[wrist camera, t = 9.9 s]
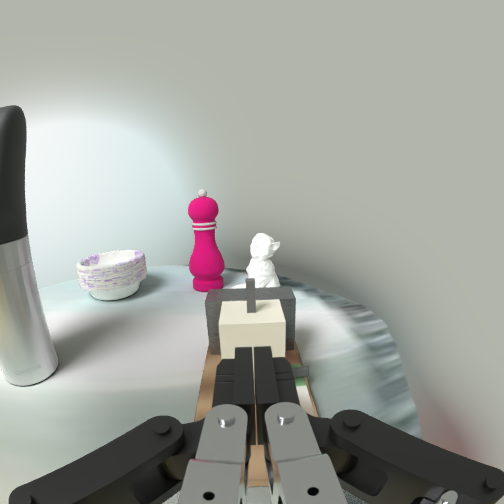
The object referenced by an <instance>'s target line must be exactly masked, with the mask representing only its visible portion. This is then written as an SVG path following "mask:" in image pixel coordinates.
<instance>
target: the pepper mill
mask: <svg viewBox="0 0 504 504" xmlns="http://www.w3.org/2000/svg"><path fill="white" fill-rule="evenodd" d="M206 195H207V192H206V190H204V189H200V190H199V191H198V196H199V198H196V199H194V200H193V201H191V203H190V204H189V207H188V214H189V216H190V218H191V219H192V220H193V222H192V223H191V224H192V230H194V234H195V246H194V250H193V253H192V255H191V258H190V263H189V270H190V272H191V273H192V275H193V276H195V278H194V279H193V287H194V289H195V290H197V291H202V292H208V291H209V289H221V288H222V287H223V277H222V276H220V275H221V273H222V272H223V270H224V267H225V266H224V260H223V258H222V255H221V253H220V251H219V250H218V247H217V245H216V242H215V228H217V226H216V223H217V222H216V221H214V220H215V217H216V216H217V215H218V205H217V203H216V201H215V200H213V199H212V198H209V197H206Z"/></svg>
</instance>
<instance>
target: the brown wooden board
mask: <svg viewBox="0 0 504 504" xmlns="http://www.w3.org/2000/svg"><path fill="white" fill-rule="evenodd" d="M285 359H286V360H287V361H288V362H289V363H290V364H291V368H295V367H303V365H302V361H301V358H300V355H299V352H298V348H297V345H296V342H295V339H294V350H289V351H285ZM221 360H222V357H221V355H211V354H210V345H209V346H208V351H207V356H206V361H205V366H204V371H203V376H202V381H201V387H200V392H199V397H198V402H197V408H196V413H195V418H194V422H196V421H199V420H201V419H203V418H205V417H206V414H207V412H208V411H209V410H210V409H211V408H212V401H213V393H214V384H215V376H216V368H217V365H218V364H219V363H220V361H221ZM294 380H295V385H296V389H297V393H298V397H299V401H300V405H301V407H302V408H303V409H304V410H305V412H307V413H308V414H310V415H312V416H315V417H318V414H317V411H316V408H315V404H314V401H313V398H312V394H311V391H310V388H309V384H308V381H307V378H306V376H300V377H294ZM255 418H256V404H255ZM249 461H250V464H249V477H248V487H258V486H269V485H268V480H267V475H266V469H265V464H264V445H258V440H257V422H256V445H251V457H250V460H249Z"/></svg>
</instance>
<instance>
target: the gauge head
mask: <svg viewBox="0 0 504 504" xmlns="http://www.w3.org/2000/svg"><path fill="white" fill-rule="evenodd" d="M218 326H219V337H220V347H221V357H222V359H235V347H252V353H253V372H254V347H256V346H271V350H272V356H273V357H285V337H286V321H285V318H284V314H283V311H282V307H281V304H280V300H279V299H273V300H256V297H255V278H247V279H246V301H222V306H221V312H220V318H219V324H218ZM292 373H293V376H294V377H300V376H309V368H308V366H306V367H295V368H292ZM254 390H255V386H254Z"/></svg>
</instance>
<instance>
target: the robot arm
mask: <svg viewBox="0 0 504 504" xmlns="http://www.w3.org/2000/svg"><path fill="white" fill-rule="evenodd" d="M25 157H26V120H25V116H24V113H23V111H22V109H21V108H20V107H19V106H16V105H15V106H14V105H13V106H6V107H2V108H0V368H1V370H2V372H3V375H4V377H5V379H6V380H7V381H8V382H9V383H11V384H14V385H19V386H25V385H32V384H35V383H38V382H40V381H42V380H44V379H46V378H47V377H49V376H50V375H51V374H52V373H53V372H54V371H55V370H56V368H57V366H58V363H59V360H58V357H57V354H56V351H55V348H54V345H53V342H52V339H51V336H50V332H49V329H48V325H47V322H46V318H45V315H44V311H43V307H42V304H41V300H40V295H39V291H38V287H37V283H36V278H35V273H34V268H33V262H32V257H31V252H30V245H29V238H28V235H27V234H28V230H27V222H26V203H25ZM254 386H255V390H254ZM255 404H256V418H255ZM256 422H257V440H258V445H264V464H265V469H266V475H267V480H268V485H269V491H270V496H271V503H272V504H348V503H347V501H346V498H345V495H344V493H343V490H342V488H343V489H345V490H346V491H348V492H350V493H351V494H353V495H355V496H357V497H358V498H360V499H362V500H364V501H365V502H367V503H369V504H495V503H496V502H497V501H498V500H499V499H500V498H501V497H502V496H503V495H504V472H503V471H501V470H500V469H497V468H495V467H492V466H488V465H485V464H482V463H479V462H477V461H474V460H471V459H468V458H466V457H463V456H460V455H458V454H455V453H453V452H450V451H447V450H445V449H442V448H440V447H438V446H435V445H433V444H430V443H428V442H426V441H423V440H421V439H419V438H416V437H414V436H412V435H410V434H407V433H405V432H403V431H401V430H399V429H396V428H394V427H392V426H390V425H388V424H386V423H384V422H382V421H380V420H377V419H375V418H373V417H371V416H369V415H367V414H365V413H363V412H361V411H358V410H343V411H340V412H338V413H337V414H335V415H334V416H333V418H332V419H328V418H320V417H315V416H312V415H310V414H308V413H307V412H305V410H304V409H303V408H302V407H301V405H300V401H299V397H298V393H297V389H296V385H295V380H294V376H293V373H292V368H291V364H290V363H289V362H288V361H287V360H286V359H285V357H273V356H272V350H271V346H256V347H254V372H253V353H252V347H235V359H222V360H221V361H220V363H219V364H218V365H217V368H216V376H215V384H214V393H213V401H212V408H211V409H210V410H209V411H208V412H207V414H206V417H205V418H203V419H201V420H199V421H196V422H192V423H187V424H181V423H180V422H179V421H178V420H177V419H175V418H173V417H170V416H156V417H153V418H151V419H149V420H147V421H146V422H144V423H142V424H141V425H139V426H137V427H136V428H134V429H132V430H130V431H129V432H127V433H125V434H124V435H122V436H120V437H118V438H117V439H115V440H113V441H111V442H109V443H108V444H106V445H104V446H102V447H100V448H99V449H97V450H95V451H93V452H91V453H89V454H87V455H85V456H83V457H81V458H80V459H78V460H76V461H74V462H72V463H70V464H68V465H66V466H64V467H62V468H59V469H57V470H55V471H53V472H51V473H49V474H47V475H45V476H42V477H40V478H38V479H36V480H33V481H31V482H29V483H27V484H24V485H22V486H19V487H17V488H16V489H14V490H13V491H12V493H11V494H10V496H9V504H162V503H163V502H165V501H166V500H167V499H169V498H170V497H172V496H173V495H174V494H176V493H177V492H178V491H180V490H181V492H180V496H179V500H178V504H247V490H248V477H249V464H250V461H249V460H250V457H251V445H256Z"/></svg>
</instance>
